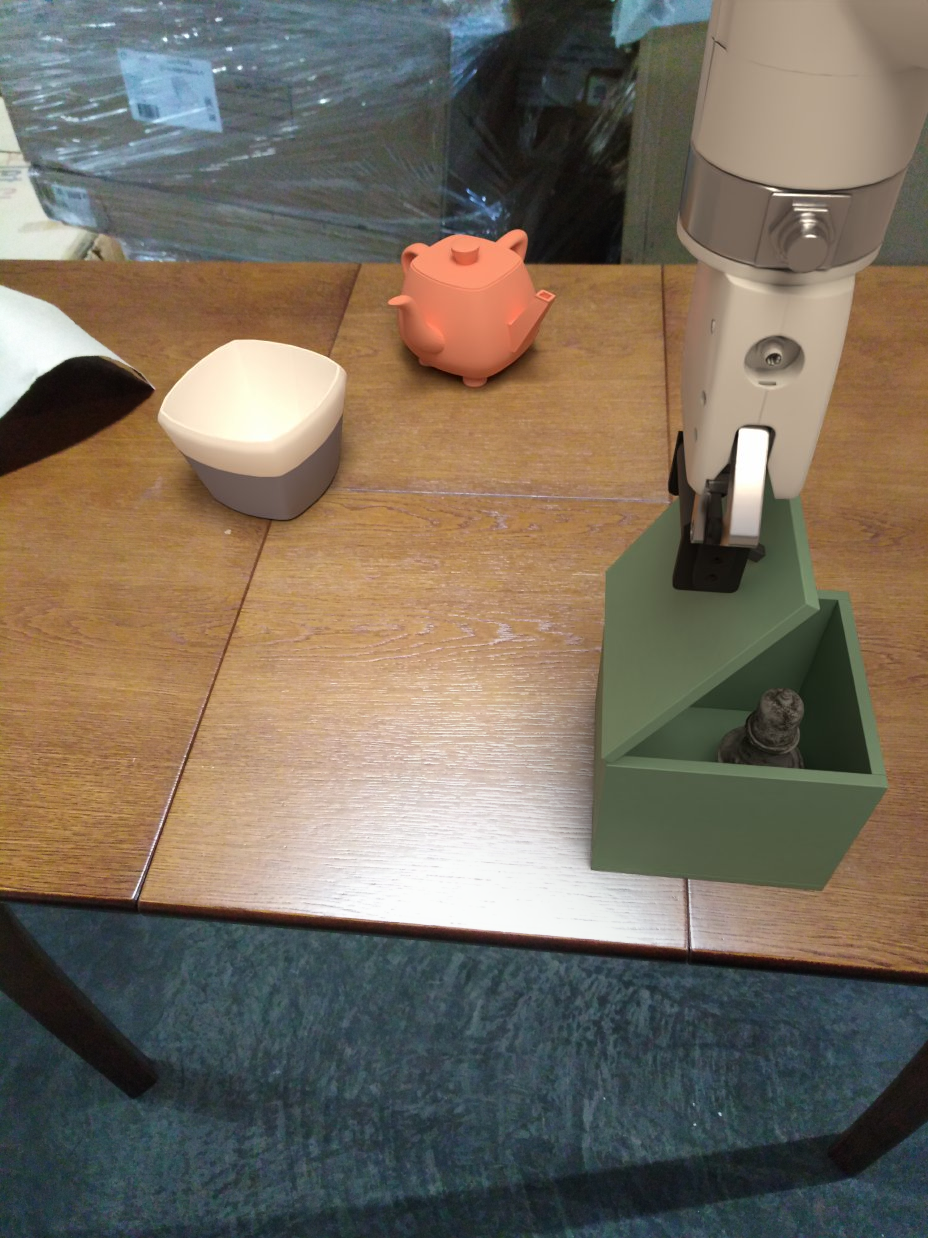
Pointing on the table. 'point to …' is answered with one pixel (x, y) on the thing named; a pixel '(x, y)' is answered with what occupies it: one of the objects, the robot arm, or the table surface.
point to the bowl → (260, 425)
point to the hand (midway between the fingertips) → (700, 535)
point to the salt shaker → (767, 733)
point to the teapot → (469, 304)
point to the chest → (749, 772)
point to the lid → (694, 616)
